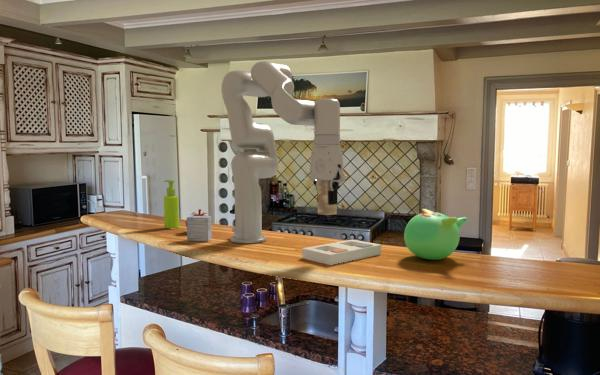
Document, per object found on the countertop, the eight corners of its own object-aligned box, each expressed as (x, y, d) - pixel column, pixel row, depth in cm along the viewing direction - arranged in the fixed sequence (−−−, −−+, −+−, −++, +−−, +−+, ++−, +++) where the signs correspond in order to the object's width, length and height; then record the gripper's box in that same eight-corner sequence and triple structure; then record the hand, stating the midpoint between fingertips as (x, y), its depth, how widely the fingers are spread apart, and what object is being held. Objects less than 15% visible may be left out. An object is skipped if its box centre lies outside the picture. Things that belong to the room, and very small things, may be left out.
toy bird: (412, 250, 154) (413, 205, 153) (467, 255, 146) (468, 208, 145) (396, 261, 138) (397, 211, 137) (457, 268, 131) (458, 215, 129)
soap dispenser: (173, 226, 205) (172, 179, 203) (181, 228, 200) (180, 180, 198) (160, 227, 201) (159, 180, 199) (169, 229, 196) (167, 180, 194)
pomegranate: (183, 231, 191) (182, 208, 190) (207, 229, 195) (207, 207, 195) (189, 235, 182) (188, 211, 181) (214, 233, 186) (214, 209, 186)
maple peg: (317, 213, 142) (317, 177, 141) (327, 212, 145) (327, 176, 144) (327, 215, 139) (327, 177, 138) (336, 214, 142) (336, 177, 141)
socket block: (302, 258, 143) (302, 247, 143) (352, 248, 158) (352, 238, 157) (330, 265, 134) (330, 253, 134) (381, 254, 148) (381, 243, 148)
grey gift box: (211, 239, 174) (211, 215, 173) (208, 241, 169) (208, 217, 169) (190, 239, 175) (190, 215, 174) (186, 241, 170) (186, 217, 170)
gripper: (298, 142, 144) (299, 202, 146) (338, 140, 132) (338, 206, 133) (317, 142, 149) (317, 200, 151) (356, 141, 137) (356, 204, 138)
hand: (327, 203), depth 142 cm, fingers closed on maple peg, 4 cm apart
